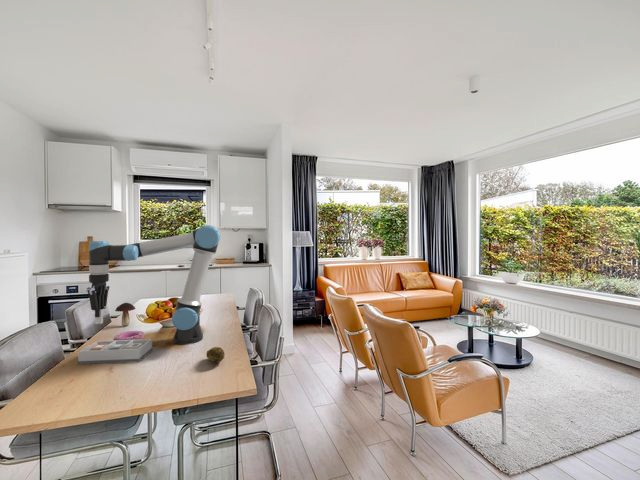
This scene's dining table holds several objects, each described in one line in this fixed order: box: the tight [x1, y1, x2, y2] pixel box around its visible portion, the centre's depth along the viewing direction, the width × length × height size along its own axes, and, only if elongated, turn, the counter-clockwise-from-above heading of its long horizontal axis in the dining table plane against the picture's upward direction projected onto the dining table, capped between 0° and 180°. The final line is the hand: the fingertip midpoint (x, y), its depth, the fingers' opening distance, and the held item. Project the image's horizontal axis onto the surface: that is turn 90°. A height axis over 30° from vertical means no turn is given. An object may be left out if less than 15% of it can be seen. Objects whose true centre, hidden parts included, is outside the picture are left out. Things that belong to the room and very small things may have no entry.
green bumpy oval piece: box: [205, 346, 226, 364], centre depth 136 cm, size 8×13×8 cm, turn 16°
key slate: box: [109, 344, 125, 350], centre depth 142 cm, size 5×5×3 cm
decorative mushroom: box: [114, 302, 136, 327], centre depth 190 cm, size 11×11×15 cm
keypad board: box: [77, 338, 154, 365], centre depth 142 cm, size 26×14×6 cm, turn 97°
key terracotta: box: [91, 344, 108, 350], centre depth 141 cm, size 5×5×3 cm
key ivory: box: [127, 343, 143, 349], centre depth 143 cm, size 5×5×3 cm
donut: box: [112, 330, 145, 340], centre depth 161 cm, size 14×14×5 cm
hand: (99, 323), depth 141 cm, fingers closed
